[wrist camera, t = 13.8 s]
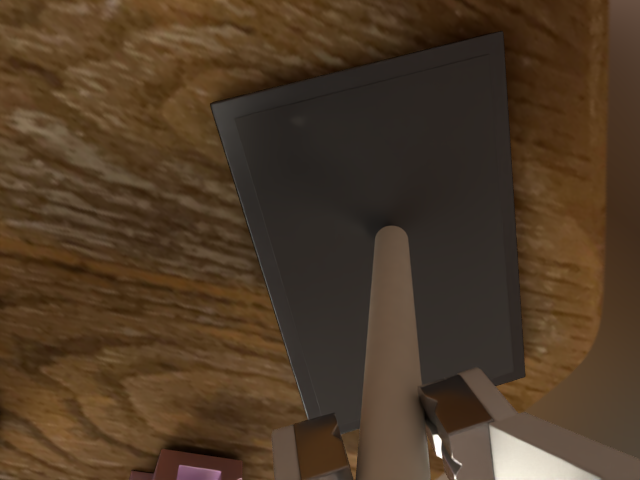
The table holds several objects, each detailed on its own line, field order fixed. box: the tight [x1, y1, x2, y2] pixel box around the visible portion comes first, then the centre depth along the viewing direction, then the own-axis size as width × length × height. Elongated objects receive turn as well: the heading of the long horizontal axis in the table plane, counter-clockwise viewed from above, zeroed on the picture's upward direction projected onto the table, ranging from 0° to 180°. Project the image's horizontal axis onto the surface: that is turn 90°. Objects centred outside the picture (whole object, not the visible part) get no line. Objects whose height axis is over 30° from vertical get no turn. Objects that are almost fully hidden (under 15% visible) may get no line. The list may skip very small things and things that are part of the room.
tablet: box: [210, 31, 525, 434], centre depth 22 cm, size 19×13×1 cm
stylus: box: [356, 226, 431, 480], centre depth 14 cm, size 2×2×15 cm
